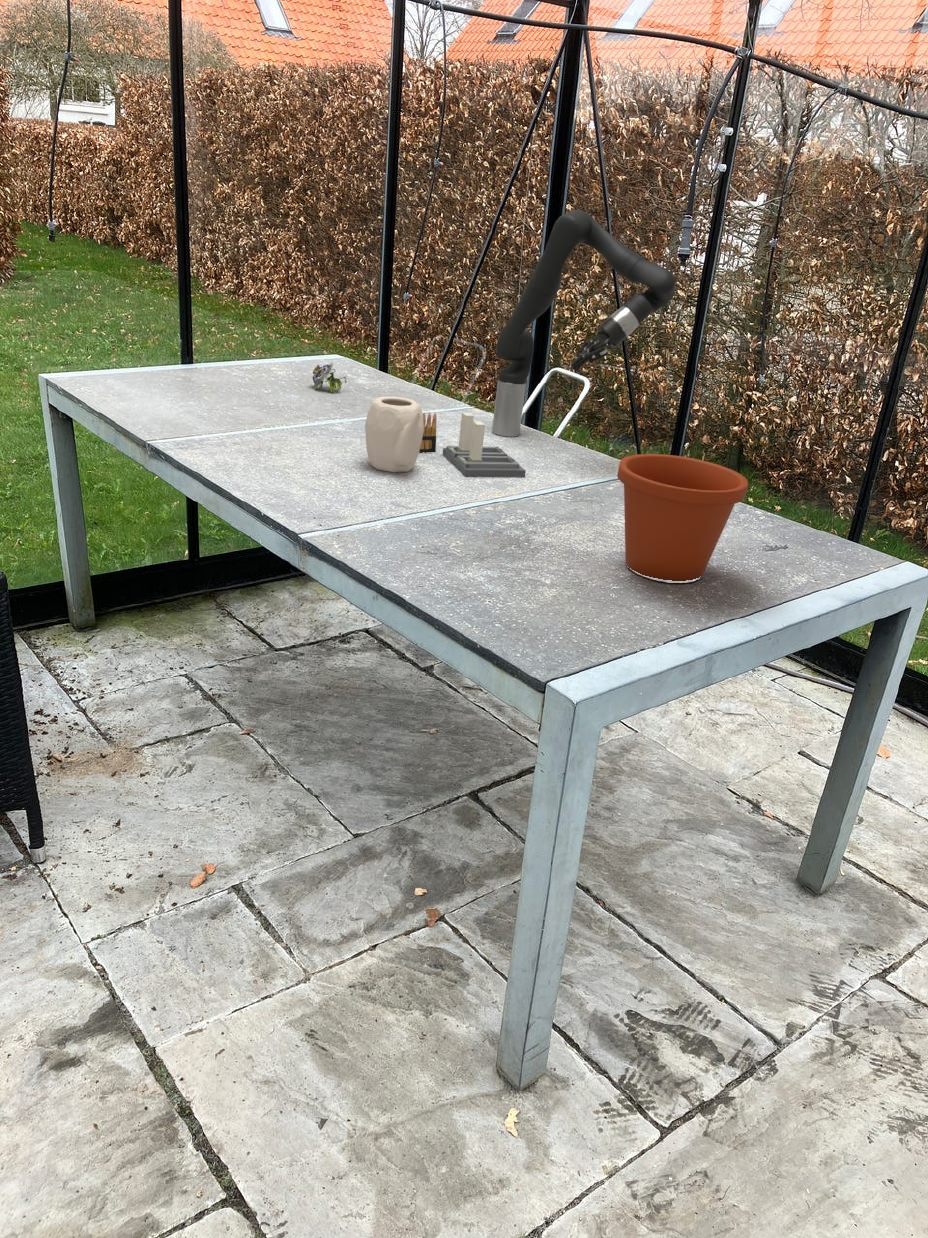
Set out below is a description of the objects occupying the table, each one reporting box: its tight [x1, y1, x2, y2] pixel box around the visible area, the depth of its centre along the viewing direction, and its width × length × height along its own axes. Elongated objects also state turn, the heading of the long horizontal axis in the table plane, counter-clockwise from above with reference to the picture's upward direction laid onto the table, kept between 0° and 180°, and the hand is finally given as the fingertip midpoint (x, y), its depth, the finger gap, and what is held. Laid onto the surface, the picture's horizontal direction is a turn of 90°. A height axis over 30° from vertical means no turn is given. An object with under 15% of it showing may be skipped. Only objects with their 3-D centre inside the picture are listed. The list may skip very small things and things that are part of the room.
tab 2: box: [468, 420, 486, 462], centre depth 276 cm, size 4×3×12 cm
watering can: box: [364, 396, 424, 473], centre depth 268 cm, size 16×27×19 cm, turn 29°
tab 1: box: [456, 412, 475, 452], centre depth 284 cm, size 4×3×12 cm
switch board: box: [442, 445, 527, 478], centre depth 284 cm, size 22×18×3 cm
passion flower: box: [311, 362, 348, 395], centre depth 353 cm, size 11×11×12 cm
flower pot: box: [617, 453, 749, 581], centre depth 217 cm, size 28×28×23 cm
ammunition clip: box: [419, 412, 437, 454], centre depth 288 cm, size 11×2×12 cm, turn 117°
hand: (572, 368), depth 277 cm, fingers closed
